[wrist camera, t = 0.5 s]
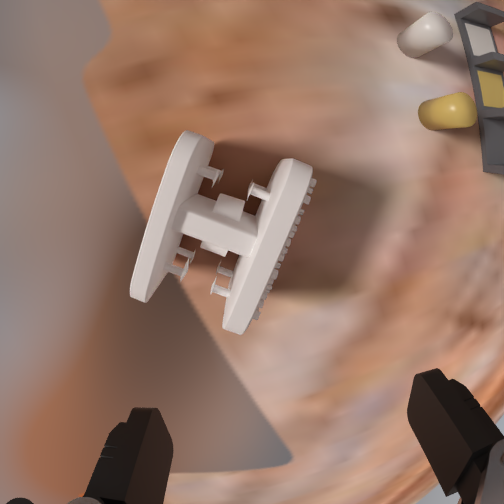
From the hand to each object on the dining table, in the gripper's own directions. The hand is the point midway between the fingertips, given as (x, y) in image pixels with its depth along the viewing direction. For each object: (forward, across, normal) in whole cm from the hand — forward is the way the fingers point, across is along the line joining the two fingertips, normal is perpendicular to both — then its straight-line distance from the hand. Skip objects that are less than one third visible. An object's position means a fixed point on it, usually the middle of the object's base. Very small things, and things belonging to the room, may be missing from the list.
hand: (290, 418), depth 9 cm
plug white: (+27, -20, -20) cm, 39 cm away
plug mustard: (+27, -22, -11) cm, 36 cm away
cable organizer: (+27, +3, -2) cm, 27 cm away
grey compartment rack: (+27, -32, -15) cm, 45 cm away
